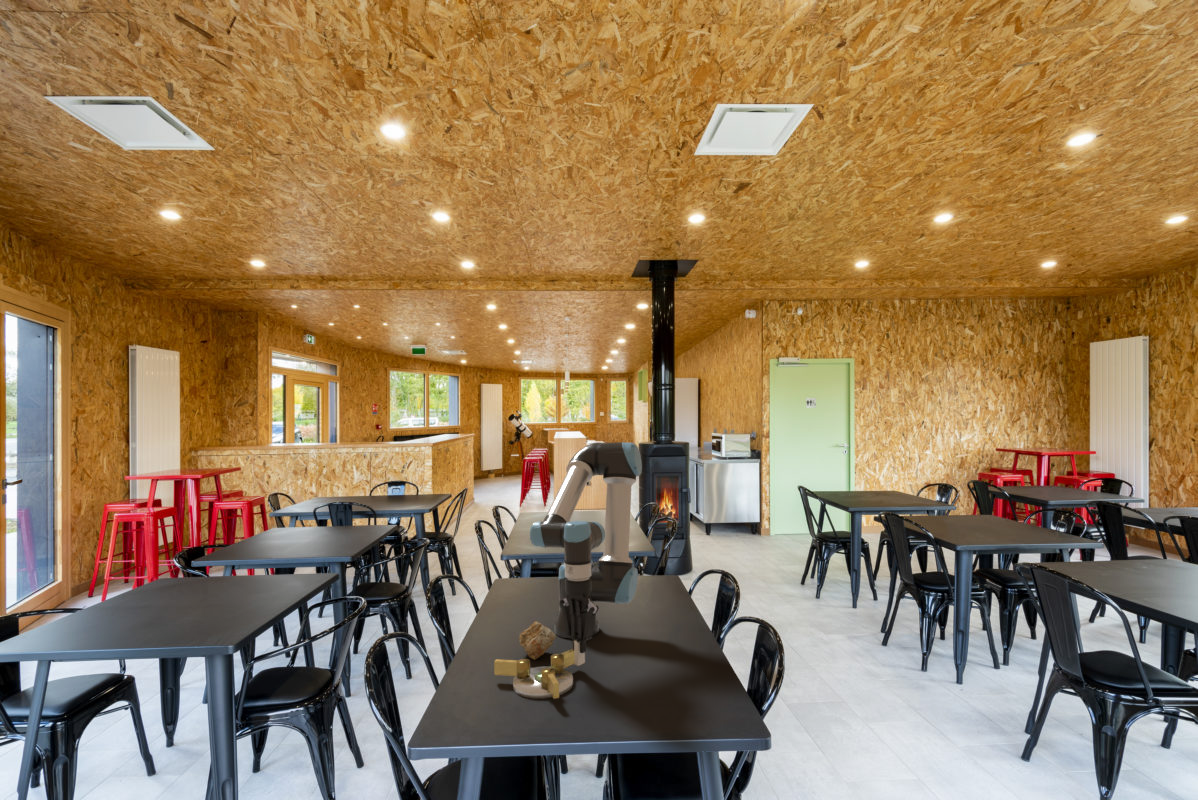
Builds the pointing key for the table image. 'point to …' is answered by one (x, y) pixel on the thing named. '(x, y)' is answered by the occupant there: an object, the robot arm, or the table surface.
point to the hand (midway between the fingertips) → (579, 663)
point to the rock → (536, 640)
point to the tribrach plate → (533, 684)
